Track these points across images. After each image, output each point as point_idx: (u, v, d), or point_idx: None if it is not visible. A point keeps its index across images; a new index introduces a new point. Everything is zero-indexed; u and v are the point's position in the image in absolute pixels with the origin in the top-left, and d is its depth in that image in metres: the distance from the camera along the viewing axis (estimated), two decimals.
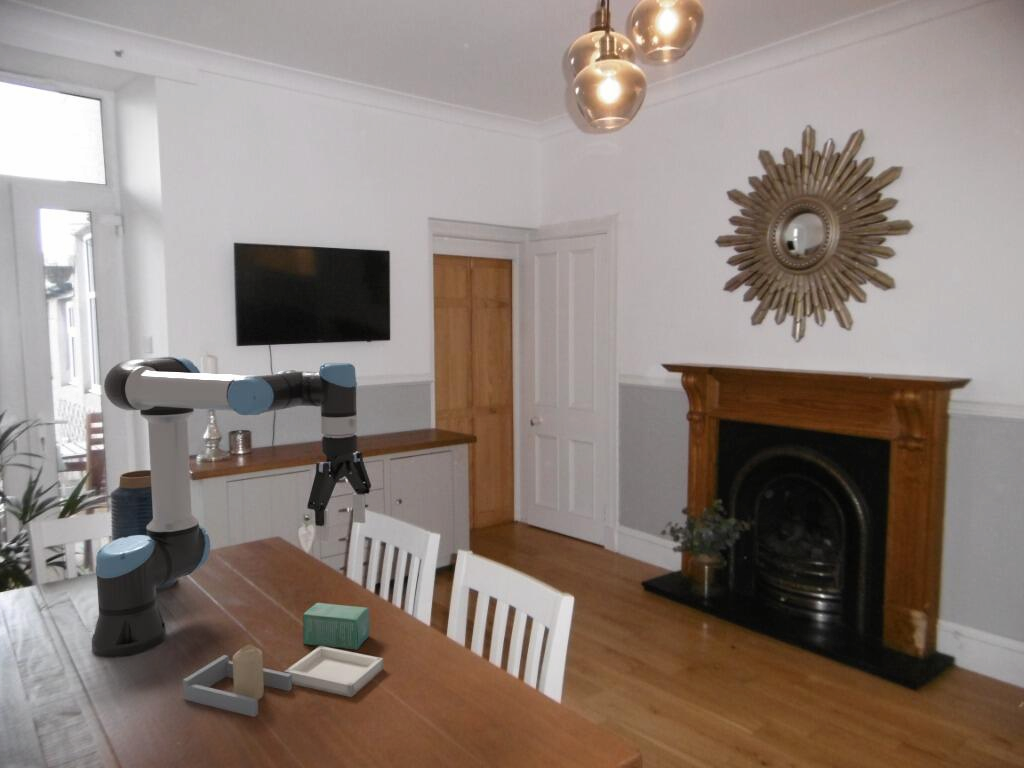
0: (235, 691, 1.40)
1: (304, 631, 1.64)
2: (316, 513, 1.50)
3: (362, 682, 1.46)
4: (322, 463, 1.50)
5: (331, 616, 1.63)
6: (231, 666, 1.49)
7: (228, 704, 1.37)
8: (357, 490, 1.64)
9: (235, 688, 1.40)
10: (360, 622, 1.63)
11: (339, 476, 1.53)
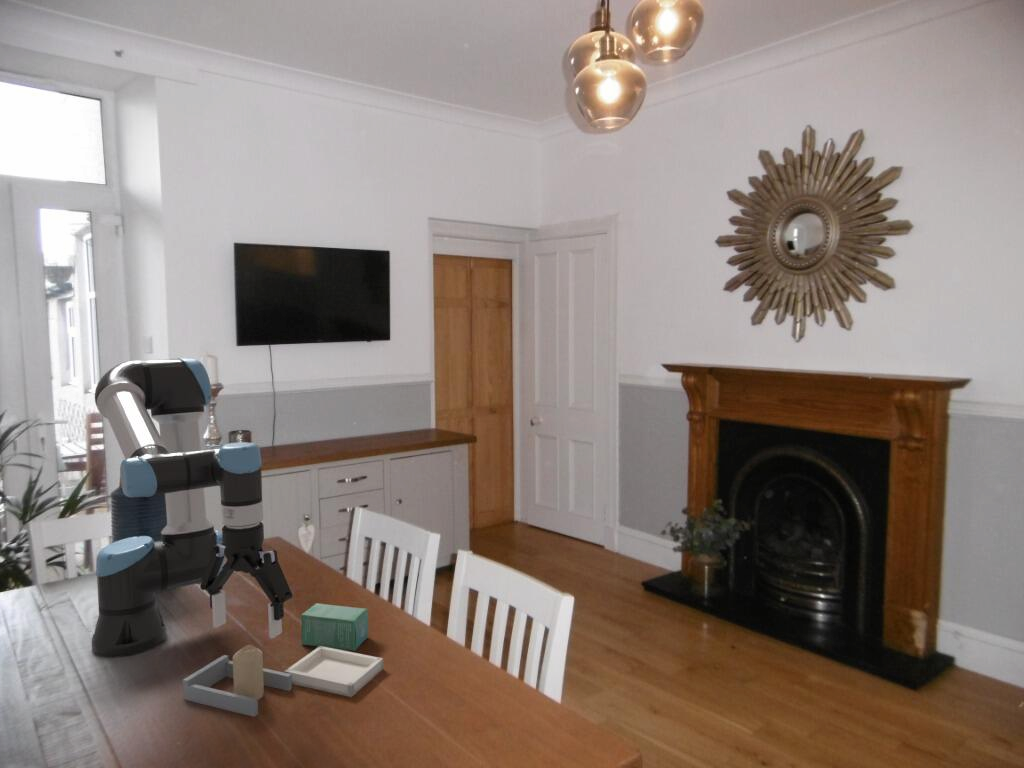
0: (235, 691, 1.40)
1: (302, 632, 1.64)
2: None
3: (362, 682, 1.46)
4: None
5: (329, 617, 1.62)
6: (231, 666, 1.49)
7: (228, 704, 1.37)
8: None
9: (235, 688, 1.40)
10: (358, 623, 1.62)
11: (226, 567, 1.39)
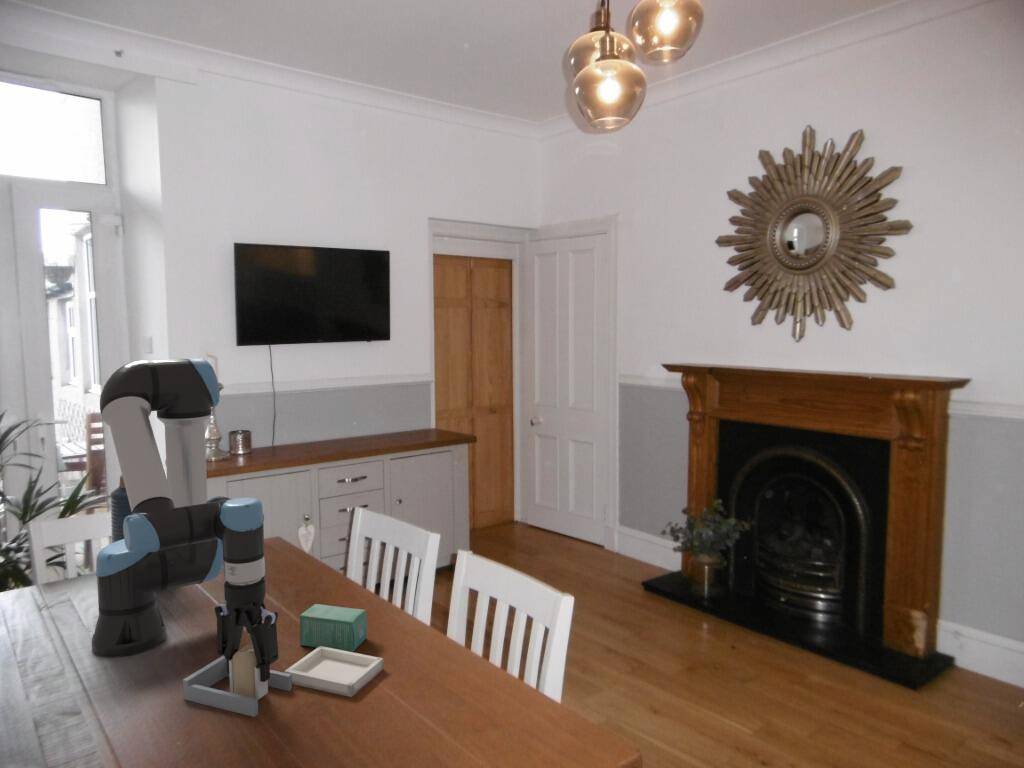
0: (235, 691, 1.40)
1: (301, 632, 1.63)
2: None
3: (362, 682, 1.46)
4: None
5: (328, 618, 1.62)
6: None
7: (228, 704, 1.37)
8: None
9: (235, 688, 1.40)
10: (356, 624, 1.62)
11: (232, 624, 1.40)
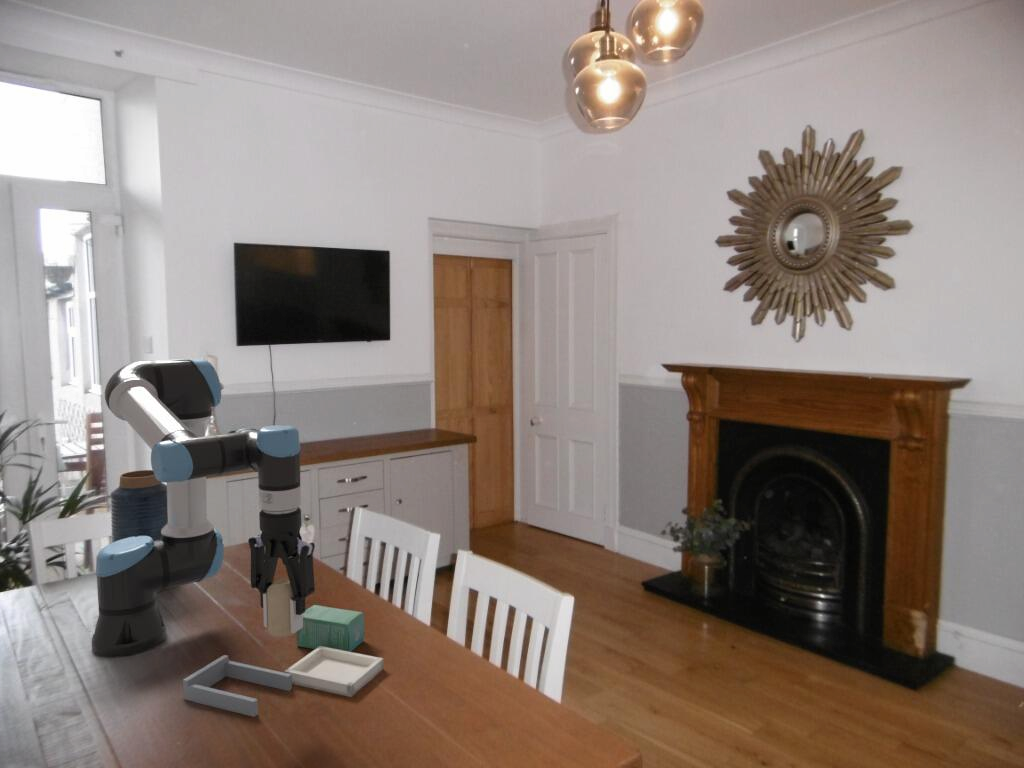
0: (269, 625, 1.36)
1: (298, 633, 1.63)
2: None
3: (362, 682, 1.46)
4: None
5: (324, 619, 1.61)
6: (231, 666, 1.49)
7: (228, 704, 1.37)
8: None
9: (269, 621, 1.36)
10: (352, 627, 1.61)
11: (267, 555, 1.35)
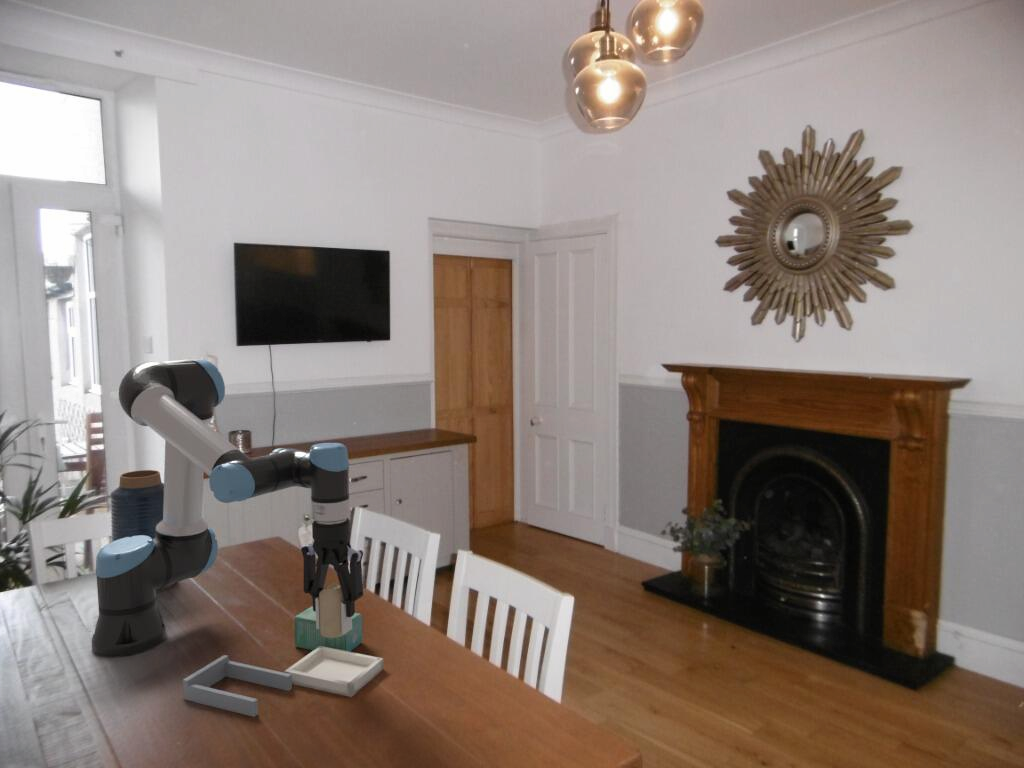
0: (322, 626, 1.47)
1: (296, 634, 1.63)
2: None
3: (362, 682, 1.46)
4: None
5: None
6: (231, 666, 1.49)
7: (228, 704, 1.37)
8: None
9: (322, 623, 1.47)
10: None
11: (319, 563, 1.47)
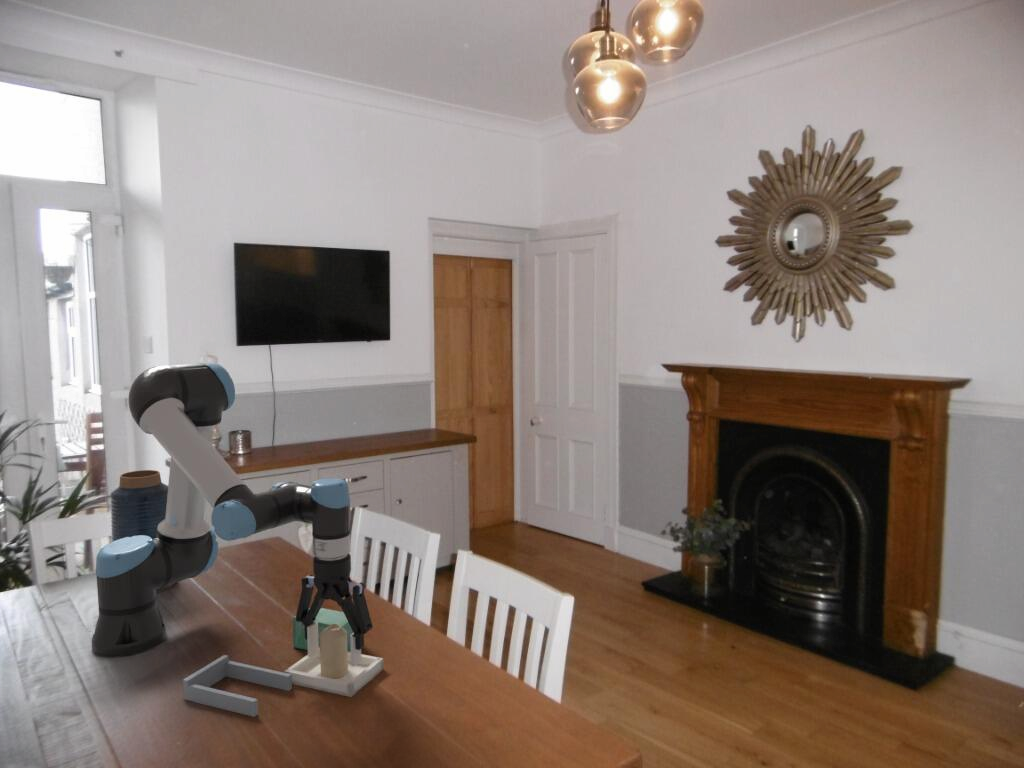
0: (322, 667, 1.48)
1: (294, 634, 1.62)
2: None
3: (362, 682, 1.46)
4: None
5: (319, 621, 1.60)
6: (231, 666, 1.49)
7: (228, 704, 1.37)
8: None
9: (322, 664, 1.48)
10: (347, 630, 1.59)
11: (318, 596, 1.48)
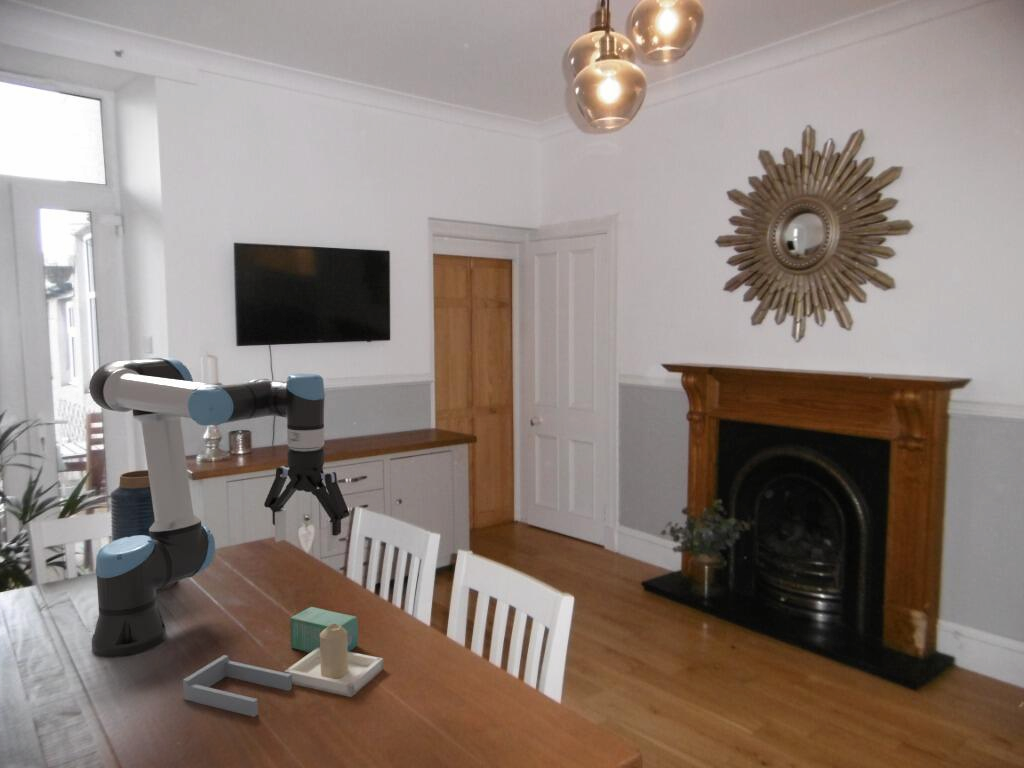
0: (322, 667, 1.48)
1: (291, 635, 1.62)
2: None
3: (362, 682, 1.46)
4: None
5: (316, 622, 1.59)
6: (231, 666, 1.49)
7: (228, 704, 1.37)
8: None
9: (322, 664, 1.48)
10: None
11: (290, 486, 1.53)
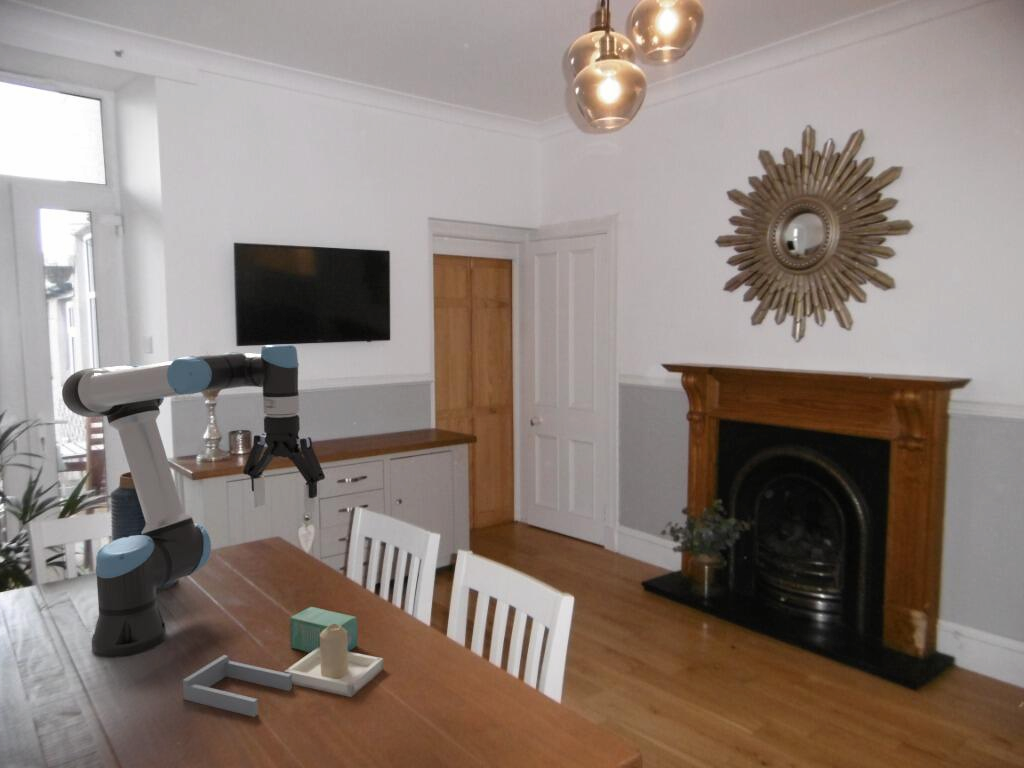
0: (322, 667, 1.48)
1: (291, 635, 1.62)
2: None
3: (362, 682, 1.46)
4: None
5: (315, 622, 1.59)
6: (231, 666, 1.49)
7: (228, 704, 1.37)
8: None
9: (322, 664, 1.48)
10: None
11: (267, 452, 1.59)
